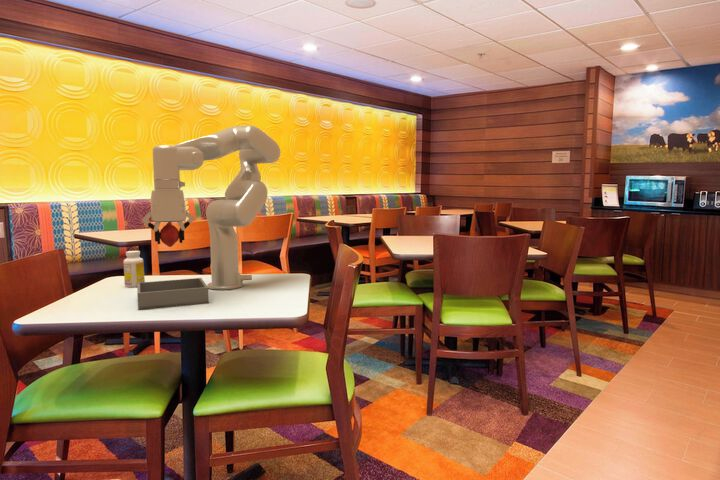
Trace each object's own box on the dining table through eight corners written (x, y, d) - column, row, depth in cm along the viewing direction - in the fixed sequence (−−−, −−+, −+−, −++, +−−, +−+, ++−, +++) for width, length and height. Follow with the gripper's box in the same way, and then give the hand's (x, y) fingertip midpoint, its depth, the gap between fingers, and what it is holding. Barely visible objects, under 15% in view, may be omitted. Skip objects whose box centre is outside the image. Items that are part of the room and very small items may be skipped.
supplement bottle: (145, 283, 182) (144, 249, 181) (143, 287, 176) (142, 252, 174) (126, 284, 180) (124, 250, 179) (123, 288, 174) (121, 252, 172)
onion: (173, 248, 149) (171, 222, 148) (156, 247, 150) (154, 222, 149) (183, 245, 155) (182, 221, 154) (167, 245, 156) (166, 220, 155)
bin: (201, 292, 167) (201, 277, 166) (208, 303, 150) (208, 287, 150) (138, 297, 158) (137, 282, 158) (138, 310, 142) (137, 293, 142)
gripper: (195, 185, 157) (197, 240, 159) (136, 185, 150) (139, 243, 152) (197, 185, 151) (199, 243, 153) (136, 185, 144) (140, 246, 145)
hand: (169, 242), depth 152 cm, fingers closed on onion, 5 cm apart
